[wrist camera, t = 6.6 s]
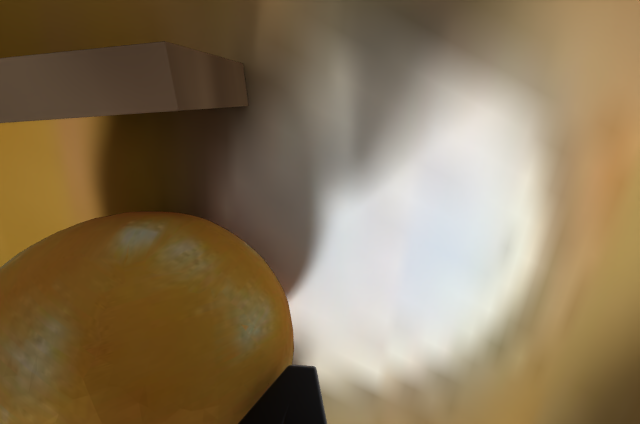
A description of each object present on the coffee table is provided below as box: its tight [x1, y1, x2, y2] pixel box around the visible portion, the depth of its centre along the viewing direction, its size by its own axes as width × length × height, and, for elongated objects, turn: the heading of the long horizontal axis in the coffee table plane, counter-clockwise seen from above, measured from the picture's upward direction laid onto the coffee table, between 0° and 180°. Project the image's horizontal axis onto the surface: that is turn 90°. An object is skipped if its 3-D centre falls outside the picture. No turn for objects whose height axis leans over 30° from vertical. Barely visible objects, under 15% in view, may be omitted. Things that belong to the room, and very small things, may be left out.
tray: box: [0, 41, 249, 123], centre depth 11 cm, size 16×15×4 cm
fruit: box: [0, 211, 294, 424], centre depth 9 cm, size 8×8×8 cm
